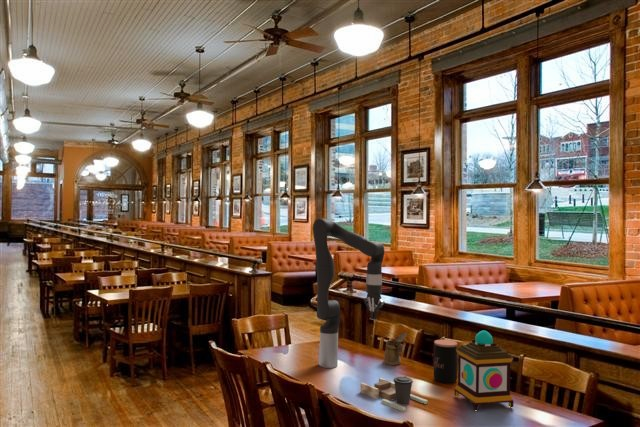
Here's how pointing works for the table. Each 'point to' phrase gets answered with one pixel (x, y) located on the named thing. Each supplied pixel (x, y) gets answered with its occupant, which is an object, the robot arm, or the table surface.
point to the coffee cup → (403, 389)
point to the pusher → (385, 390)
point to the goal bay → (402, 406)
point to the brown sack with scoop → (394, 350)
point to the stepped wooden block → (373, 389)
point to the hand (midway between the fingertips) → (373, 319)
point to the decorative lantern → (484, 372)
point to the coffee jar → (445, 361)
